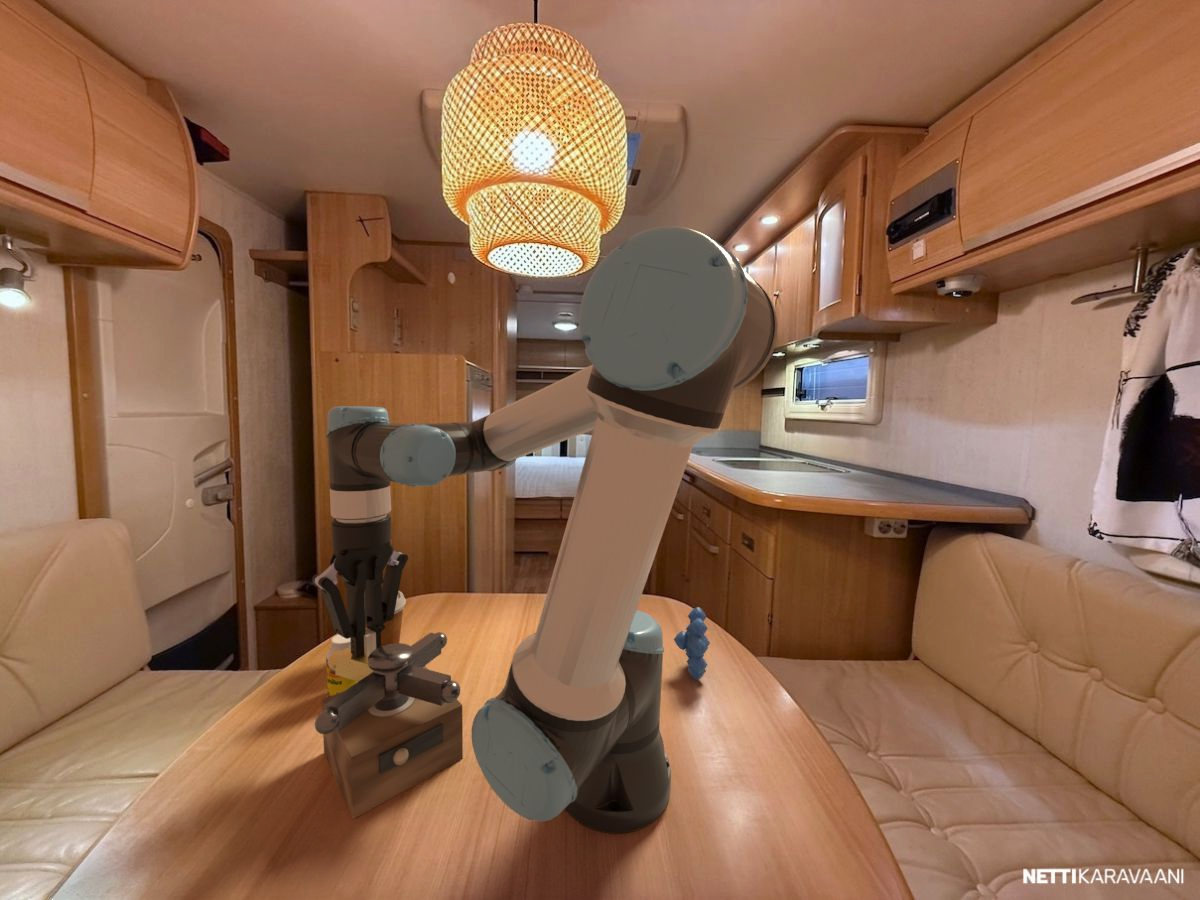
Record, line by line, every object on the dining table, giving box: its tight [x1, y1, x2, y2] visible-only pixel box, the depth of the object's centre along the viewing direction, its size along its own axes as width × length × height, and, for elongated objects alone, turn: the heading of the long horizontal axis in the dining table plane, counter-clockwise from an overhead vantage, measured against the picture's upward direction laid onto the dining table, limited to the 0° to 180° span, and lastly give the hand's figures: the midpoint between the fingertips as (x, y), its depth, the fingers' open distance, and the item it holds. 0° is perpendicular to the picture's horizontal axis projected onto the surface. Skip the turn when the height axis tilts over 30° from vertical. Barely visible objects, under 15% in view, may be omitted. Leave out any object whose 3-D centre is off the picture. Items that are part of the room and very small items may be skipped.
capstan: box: [314, 631, 461, 735], centre depth 63 cm, size 22×22×7 cm
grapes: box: [673, 606, 711, 681], centre depth 85 cm, size 12×7×12 cm, turn 172°
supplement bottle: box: [325, 634, 358, 698], centre depth 76 cm, size 6×6×10 cm
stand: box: [321, 665, 464, 820], centre depth 63 cm, size 16×14×8 cm
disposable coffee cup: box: [364, 590, 407, 647], centre depth 87 cm, size 10×10×12 cm
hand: (367, 673), depth 66 cm, fingers closed
